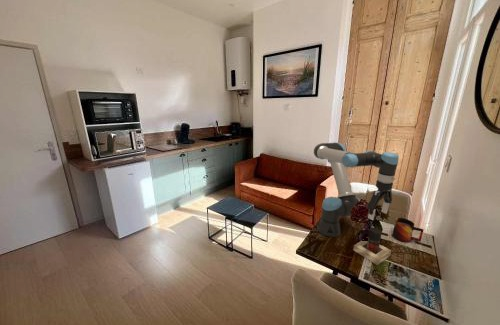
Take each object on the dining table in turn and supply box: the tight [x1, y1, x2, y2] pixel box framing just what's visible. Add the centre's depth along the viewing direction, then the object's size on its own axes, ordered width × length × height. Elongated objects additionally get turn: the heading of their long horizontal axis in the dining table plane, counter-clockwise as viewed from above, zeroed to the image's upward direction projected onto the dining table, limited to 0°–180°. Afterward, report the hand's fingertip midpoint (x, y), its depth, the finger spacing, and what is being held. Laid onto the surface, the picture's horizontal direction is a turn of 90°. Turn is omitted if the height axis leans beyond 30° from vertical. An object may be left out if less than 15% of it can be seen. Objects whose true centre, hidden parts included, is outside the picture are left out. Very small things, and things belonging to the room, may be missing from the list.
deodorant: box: [366, 227, 383, 254], centre depth 118 cm, size 6×6×15 cm
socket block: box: [352, 240, 392, 266], centre depth 120 cm, size 14×14×4 cm
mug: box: [392, 217, 424, 244], centre depth 132 cm, size 10×14×12 cm
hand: (377, 215), depth 116 cm, fingers open, 13 cm apart
